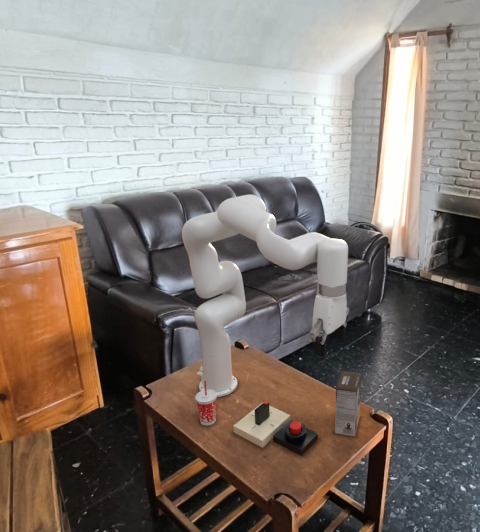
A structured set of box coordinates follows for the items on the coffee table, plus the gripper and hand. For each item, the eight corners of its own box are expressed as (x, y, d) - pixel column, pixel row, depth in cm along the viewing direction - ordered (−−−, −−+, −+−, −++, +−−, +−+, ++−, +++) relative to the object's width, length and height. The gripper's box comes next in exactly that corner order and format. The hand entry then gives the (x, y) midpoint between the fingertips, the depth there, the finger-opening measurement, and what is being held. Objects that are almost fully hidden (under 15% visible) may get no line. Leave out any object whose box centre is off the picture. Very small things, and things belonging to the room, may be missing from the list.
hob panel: (233, 432, 128) (233, 425, 127) (262, 408, 139) (262, 401, 138) (262, 447, 123) (262, 440, 122) (290, 422, 133) (290, 414, 132)
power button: (287, 431, 124) (287, 426, 124) (294, 425, 127) (294, 420, 126) (296, 435, 123) (296, 430, 122) (303, 429, 125) (303, 424, 124)
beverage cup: (207, 430, 129) (204, 390, 124) (193, 422, 132) (189, 382, 127) (222, 418, 134) (220, 379, 129) (208, 411, 137) (205, 372, 132)
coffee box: (339, 413, 137) (341, 369, 132) (359, 417, 136) (362, 372, 131) (334, 433, 129) (335, 387, 123) (355, 437, 128) (358, 391, 122)
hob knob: (259, 425, 128) (258, 410, 126) (254, 423, 128) (254, 408, 127) (269, 416, 131) (269, 402, 130) (265, 414, 132) (265, 400, 130)
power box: (273, 441, 125) (272, 430, 124) (290, 426, 132) (290, 415, 130) (301, 456, 120) (301, 445, 119) (317, 439, 127) (318, 428, 125)
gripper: (336, 274, 119) (335, 330, 125) (299, 295, 106) (299, 357, 111) (361, 280, 116) (358, 338, 121) (325, 303, 102) (324, 366, 108)
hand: (330, 347), depth 116 cm, fingers open, 9 cm apart
